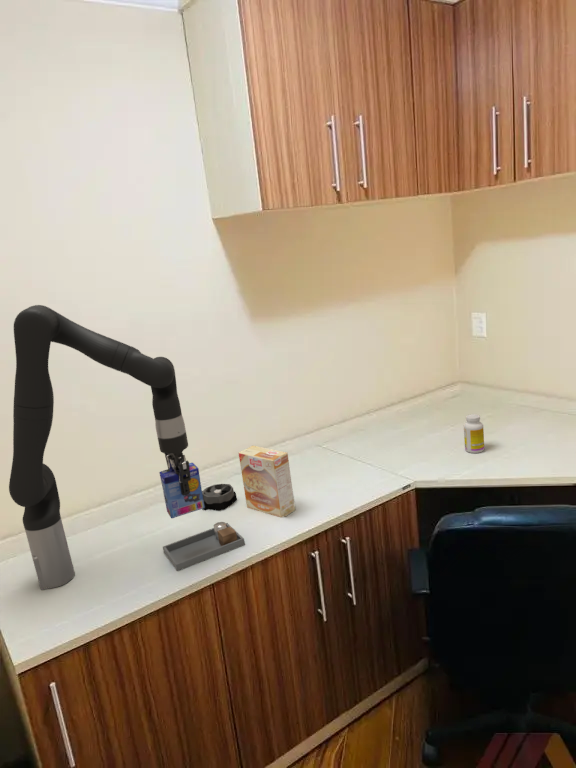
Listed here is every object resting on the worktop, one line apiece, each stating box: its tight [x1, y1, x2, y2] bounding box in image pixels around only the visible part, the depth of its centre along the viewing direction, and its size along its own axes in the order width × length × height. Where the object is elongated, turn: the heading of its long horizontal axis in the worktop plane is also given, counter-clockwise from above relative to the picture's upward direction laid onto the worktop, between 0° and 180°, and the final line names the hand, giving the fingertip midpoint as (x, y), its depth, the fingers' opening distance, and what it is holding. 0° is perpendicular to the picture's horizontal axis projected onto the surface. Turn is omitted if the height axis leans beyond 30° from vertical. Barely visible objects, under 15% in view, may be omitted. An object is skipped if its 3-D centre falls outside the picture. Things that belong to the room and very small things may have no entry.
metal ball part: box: [213, 521, 227, 540], centre depth 170 cm, size 4×4×4 cm
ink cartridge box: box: [158, 462, 205, 519], centre depth 159 cm, size 10×6×14 cm, turn 117°
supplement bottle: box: [463, 413, 485, 454], centre depth 208 cm, size 7×7×13 cm
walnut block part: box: [217, 526, 237, 546], centre depth 166 cm, size 4×4×4 cm
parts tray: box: [162, 522, 246, 572], centre depth 165 cm, size 20×12×2 cm, turn 119°
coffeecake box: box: [238, 445, 296, 518], centre depth 183 cm, size 15×7×20 cm, turn 49°
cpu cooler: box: [201, 483, 238, 512], centre depth 192 cm, size 10×6×10 cm
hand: (182, 490), depth 159 cm, fingers closed on ink cartridge box, 5 cm apart
